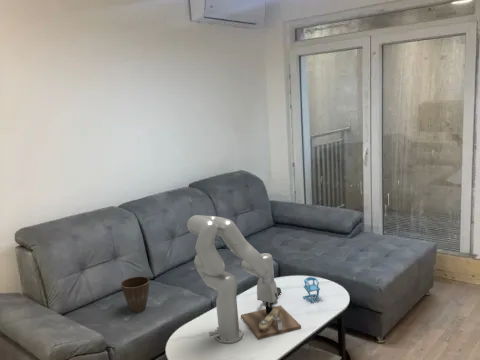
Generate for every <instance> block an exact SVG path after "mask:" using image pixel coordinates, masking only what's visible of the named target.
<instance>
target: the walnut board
mask: <svg viewBox="0 0 480 360" xmlns="http://www.w3.org/2000/svg"><path fill="white" fill-rule="evenodd" d="M274 308H276V309H280V314H279V315H278V318H279V319H280V320H281V321H282V330H279V331H278V330H277V324H276V321H275V320H274V321H273V323H272V324H271V325H270V326H269V329H268V330H267V331H261V330H260V329H259V323H260V322H261V321H263V320H264V319H265V318H266V317H267V316H268V314H267V313H266V308H263V309H260V310H256V311H250V312H247V313H241V314H240V318H241V320H242V319H243V320H242V321H243V322H244V324H245V325H246V326H247V328H248V329H249V330H250V331H251V332H252V334H253V335H254V337H255V338H256V339H257V340H262V339H266V338H270V337H274V336H277V335H281V334H282V335H283V334H285V333H290V332H293V331H296V330H301V329H302V325H301V324H300V323H299V322H298V321H297V320H296V319H295V318H294V316H292V314H290V313H289V312H288V311H287V310H286V309H285V307H283V306H282V305H281V304H280V305H277V306H272V310H273V309H274Z"/></svg>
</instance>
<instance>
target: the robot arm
mask: <svg viewBox="0 0 480 360" xmlns="http://www.w3.org/2000/svg"><path fill="white" fill-rule="evenodd" d="M186 226H187V230H188V231H189V232H190V233H191V234H193V235H195V236H198V237H197V240H196V243H195V248H194V249H195V252H196V255H195V257H194V260H193V261H194V262H193V263H194V266H195V269H196V271H197V273H198V274H199V276H200V278H201V279H202V280H203V282H204V284H205V285H206V286H207V287H209V288H211V289H213V290H215V291H216V292H217V296H216V298H215V299H216V300H215V301H216V302H215V304H216V305H215V306H216V315H217V325H218V327H216V329H215V330H214V331H209V332H208V336H209V337H213V339H214V338H215V339H216V341H218V342H219V343H220V344H234V343H236V342H239V341H241V339H242V338H243V336H244V333H243V331H242V330H241V329H240V326H239V325H240V323H239V315H238V311H239V310H238V302H237V290H238V280H237V278H236V277H235V275H233V274H232V273H230V272H228V271H226V270H225V268H226V264H225V262H224V260H223V258H222V256H221V255H220V253H219V252H218V250H217V248H216V246H215V241H216V240H215V239H216V237H221V239H222V240H223V242H224V243H225V245H226V246H227V247H228V249H229V250H230V252H232V254H234V255H235V256H236V257H238V258H240V259H241V260H242V261H241V265H240V266H241V269H242V271H244V272H245V273H247V274H250V275H252V276H255V277H258V280H257V283H256V296H257V297H256V298H258V299H259V300H258V301H261V302H262V303H263V305H264V306H265V309H266V313H267V314H269V313H270V312H271V311H272V307H273V305H277V304H278V303H279V302H278V299H279V297H278V291H277V287H278V286H277V283H276V281H275V274H274V273H275V272H274V263H273V262H274V260H273V256H272V254H270V253H268V252H264V253H263V252H262V253H260V252H259V251H258V250H257V249H256V248H254V246H253V245H252V244H250V242H248V241H247V239H246V238H245V237H244V235H243V234H242V232H241V231H240V229H239V228H238V226H237V225H236V224H235V221H232V220H231V219H228V218H226V217H221V216H215V215H202V214H201V215H199V214H195V215H192V216H191V217H190V218H189V219H188V220H187V223H186Z"/></svg>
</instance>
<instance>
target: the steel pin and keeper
mask: <svg viewBox="0 0 480 360" xmlns="http://www.w3.org/2000/svg"><path fill="white" fill-rule="evenodd" d="M272 317H273V319H274V320H275V321H276V324H277V330H278V331H279V330H282V321H281V320H280V319H279V318H278V316H277V315H275V316H272ZM261 324H266V321H265V320H263V321H261Z"/></svg>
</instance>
